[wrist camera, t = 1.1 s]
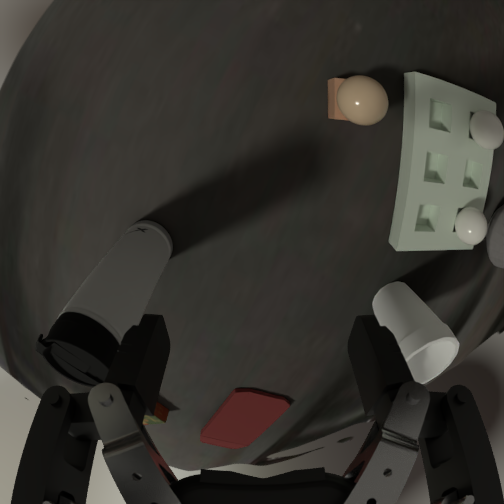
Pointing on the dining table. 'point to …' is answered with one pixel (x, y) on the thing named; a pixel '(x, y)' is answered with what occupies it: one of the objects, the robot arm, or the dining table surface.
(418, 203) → the egg tray
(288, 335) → the dining table surface
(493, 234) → the coffee pot
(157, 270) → the travel mug
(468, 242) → the white egg
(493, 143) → the white egg
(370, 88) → the brown egg
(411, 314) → the foam cup
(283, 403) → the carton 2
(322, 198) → the dining table surface
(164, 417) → the carton
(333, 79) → the egg cup
